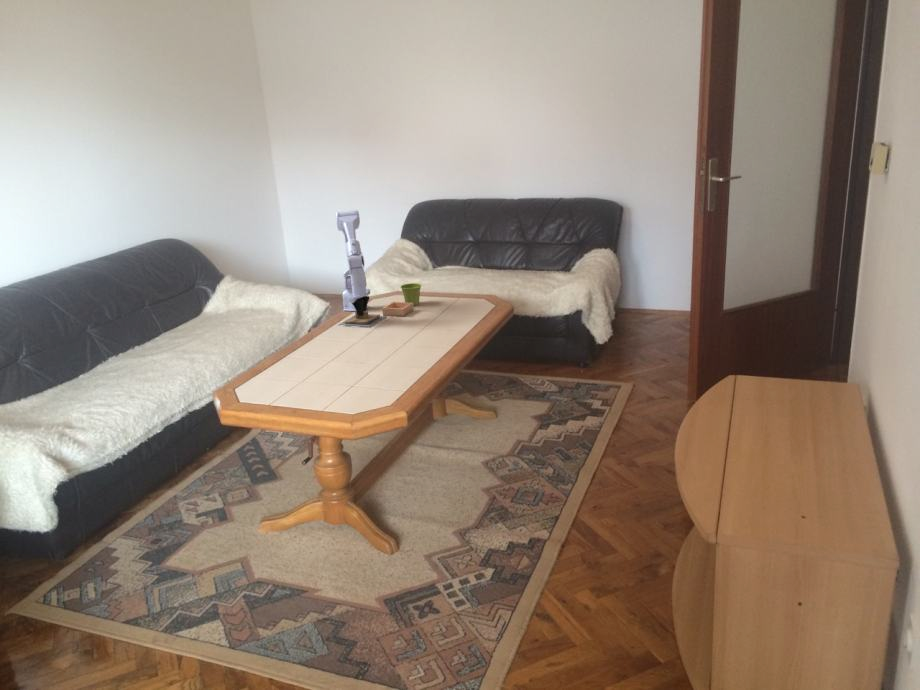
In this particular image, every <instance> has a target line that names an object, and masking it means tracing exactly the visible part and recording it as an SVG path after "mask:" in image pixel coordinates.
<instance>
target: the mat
mask: <svg viewBox="0 0 920 690" xmlns="http://www.w3.org/2000/svg"><path fill="white" fill-rule="evenodd" d="M354 316H356V315H353V316H351V317H350V318H352V317H354ZM387 317H388V316H383V315H380V317H378V318H377V319H375V320H373V321H372V322H370V323H368V324H345V321H347V320H348V319H350V318H348V319H346V320H344V321H342V322H341V323H339V324H338V325H346V326H345V327H351V326H360V327H359V328H368V327H370V328H371V326H372V327H373V326H375V325H377V324H378V323H379V321H380V322H382V321H383V320H384V319H386V318H387ZM382 319H383V320H382ZM374 324H375V325H374Z"/></svg>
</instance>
